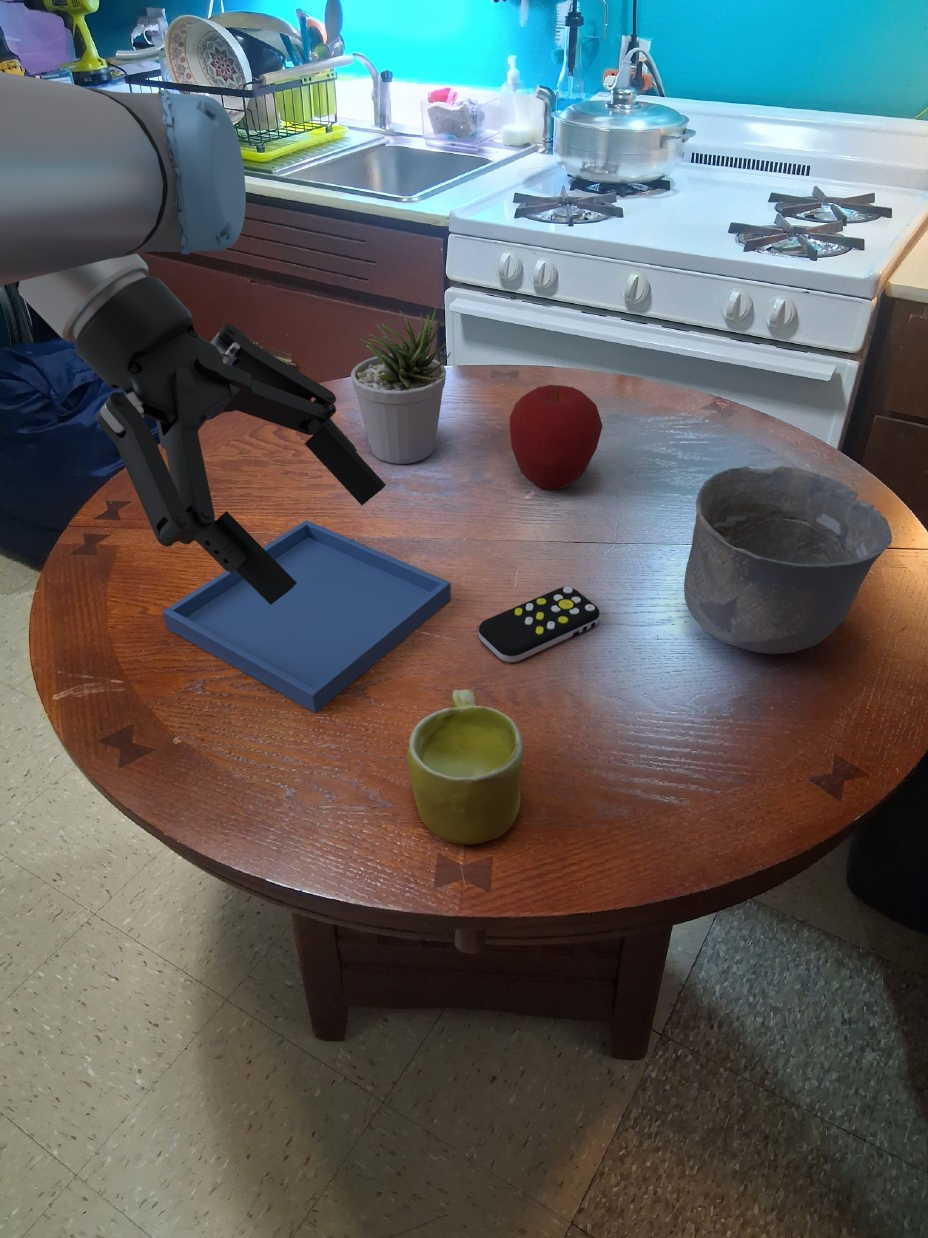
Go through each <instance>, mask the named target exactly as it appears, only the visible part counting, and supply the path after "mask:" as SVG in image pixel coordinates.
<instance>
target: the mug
mask: <svg viewBox="0 0 928 1238" xmlns="http://www.w3.org/2000/svg"><path fill="white" fill-rule="evenodd" d="M451 693H452V694H451V702H450V703H451V707H446V708H442V709H440V710H437V711H434V712H432V713H430V714H429V715H426V716H425V717H423V718H422V719H421V720H420V721H419V722H418V723H417V724H416V725H415V726H414V727H413V729H412V731H411V733H410V735H409V737H408V743H407V747H406V762H407V770H408V775H409V778H410V783H411V787H412V788H411V789H412V793H413V796H414V800H415V805H416V809H417V813H418V815H419V818H420V820H421V821H422V823H423V824H424V825H425V827H426V828H427V830H428V831H430V832H431V833H432V834H433V835H434V836H436V837H438V838H440V839H442V840H444V841H446V842H448V843H450V844H453V845H457V846H466V845H467V846H476V845H477V846H478V845H481V844H483V843H486V842H490V841H493V840H496V839H498V838H500V836H502V835H504V834H505V833H506V832H507V831H509V830H510V829H511V827H513V825H514V824H515V821H516V819H517V817H518V815H519V811H520V808H521V779H522V771H523V763H524V762H523V761H524V749H525V748H524V740H523V737H522V733H521V731H520V728H518V726H517V724H516V722H515V721H514V720H513V719H512V718H511V717H510V716H508V715H507V714H505V713H504V712H503V711H500V710H498V709H496V708H493V707H488V706H485V705H483V706H482V705H481V706H480V705H476V702H477V701H476V697H475V692H473V691H472V690H470V689H454V690H452V692H451Z"/></svg>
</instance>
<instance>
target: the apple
mask: <svg viewBox="0 0 928 1238" xmlns="http://www.w3.org/2000/svg"><path fill="white" fill-rule="evenodd" d="M602 430H603V422H602V419H601V416H600V412H599V410H598V406H597V404H596V403H595V402H594V401H593V400H592V399H591V398H589V397H588V396H587V395H586V394H585V393H584V392H583V391H582V390H580V389H577V388H575V387H573V386H567V385H561V384H547V385H543V386H538V387H536V388H534V389H531V390H530V391H529V392H527V393H526V394H524V395H522V396H521V397H520V398H519V399H518V401H516V403H515V404H514V406H513V409H512V410H511V413H510V415H509V433H510V445H511V450H512V453H513V456H514V458H515V461H516V463H517V466H518V468H519V471H520V473H521V474H522V475H523V477H524V478H525V479H526V480H527V481H529V482H530V483H532V485H534V486H535V487H537V488H538V489H540V490H545V491H555V490H559V489H563V488H564V487H566V486H568V485H570V484H573V483H574V482H576V481H577V480H579V479H580V478H581V477H582V476H583V475H584V474H585V472H586V470H587V468H588V466H589V465H590V462H591V460H592V458H593V457H594V455H595V452H596V450H597V449H598V444H599V441H600V438H601V433H602Z"/></svg>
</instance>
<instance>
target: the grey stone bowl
mask: <svg viewBox="0 0 928 1238" xmlns="http://www.w3.org/2000/svg"><path fill="white" fill-rule="evenodd" d="M858 494H859V492H857V491H855V490H852V489H850V487H849V486H848V485H846V484H844V483H842V482H840V481H838V480H836V479H833V478H830V477H827V476H823V475H820V474H818V473H816V472H813V471H809V470H804V469H798V468H796V467H790V466H783V465H782V466H775V467H771V468H770V467H769V468H756V467H755V468H752V467H749V466H747V465H745V466H741V467H732V468H728V469H725V470H723V471H719V472H717V473H715V474H714V475H711V477H709V478H708V479H706V480H705V481H704V483H703V484H702V485H701V488H700V489H699V491H698V493H697V496H696V499H695V512H696V515H695V524H694V527H693V534H692V539H691V541H692V542H691V547H690V551H689V555H688V560H687V562H686V567H685V573H684V583H683V595H684V601H685V605H686V607H687V609H688V611H689V613H690V616H691V617H692V618H693V619H694V620H695V622H696V623H697V624H698V625H699V627H700V628H701V629H702V630H703V631H704V632H705V633H707V634H709V635H711V636H712V637H714V638H716V639H717V640H719V641H721V642H722V643H725V644H727V645H731V646H733V647H736V648H739V649H742V650H746V651H751V652H755V653H759V654H768V655H779V654H780V655H781V654H792V653H795V652H799V651H803V650H805V649H809V648H811V647H814V646H816V645H818V644H819V643H821V642H823V640H825V639H826V638H827V637H828V636H830V635H831V634H832V633H833V632H834V631H835V630H836V628H838V626H839V625H840V624H841V623H842V622H843V621H844V619H846V616H847V614H848V613H849V611H850V609H851V607H852V605H853V603H854V602H855V600H856V598H857V596H858V593H859V591H860V588H861V585H862V584H863V583H864V581H865V579H866V577H867V576H868V574H869V572H870V570H871V569H872V566H873V565H874V564H875V562H877V561H876V560H877V559H878V558H879V557H880V556H881V555H882V554H883V553H884V552H886V550H887V549H888V548H889V547H890V545H891V543H892V539H893V536H892V529H891V527H890V524H889V522H888V520H887V518H886V517H885V516H883V515H882V512H881V511H880V510H878V509H876V508H875V505H874V504H871V503H869V502H868V501H866V500H864V499H859V500H857V498H858V497H857V496H858Z"/></svg>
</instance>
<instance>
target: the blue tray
mask: <svg viewBox="0 0 928 1238" xmlns="http://www.w3.org/2000/svg"><path fill="white" fill-rule="evenodd" d="M262 548H263V549H264V550H265V551H266V552H267V553H268V554H269V555H270V556H271V557H272V558H273V559H274V560H275V561H276V562H277V563H278V564H279V565H280V566H281V567H282V568H283V569H284V570H285V571H286V572H287V573H288V574H289V575H290V576H291V577H292V578H293V579H294V580H295V581H296V582H297V583H296V585H295V586H294V587H293V588H292V589H291V590H290V591H288V592H287V593H286V594H284V595H283V596H282V597H281V598H279V599H278V600H277V601H275V602H274V603H273V604H271V605H270V604H269V603H268V602H267V601H266V600H265V599H264V598H263V597H262V596H261V595H260V594H259V593H258V592H257V591H256V590H255V589H254V588H253V587H252V586H251V585H250V584H249V583H248V582H247V581H246V580H245V579H244V578H243V577H242V576H241V575H240V574H239V573H238V572H237V571H236V570H235V571H234V572H232V573H231V572H229V571H227V570H225V571H223V572H222V573H220V574H219V575H217V576H215V577H214V578H213V579H211V580H209V581H208V582H206V583H204V584H203V585H202V586H199V587H198V588H197V589H195V590H193V591H192V592H190V593H189V594H187V595H186V596H183V597H182V598H181V599H179V600H178V601H176V602H175V603H172V604H171V605H170V606H168V607H167V608H165V609H163V610H162V611H161V612H162V616H163V620H164V623H165V626H166V629H167V630H168V631H170V632H172V633H173V634H175V635H178V636H179V637H180V638H183V639H185V640H186V641H188V642H190V644H193V645H194V646H196V647H198V648H200V649H202V650H204V651H205V652H207V653H209V654H210V655H212V656H214V657H216V658H217V659H220V660H221V661H223V662H224V663H226V664H228V665H229V666H232V667H233V668H235V669H237V670H239V671H240V672H242V673H244V674H246V675H247V676H249V677H251V678H252V679H254V680H256V681H258V682H259V683H262V684H263V685H265V686H267V687H268V688H270V689H272V690H274V691H276V692H277V693H278V694H281V695H282V696H284V697H286V698H288V699H289V700H291V701H293V702H295V703H296V704H298V705H300V706H302V707H304V708H305V709H307V710H309V711H310V712H312V713H314V714H317V713H318V712H320V711H321V710H322V709H323V708H324V707H325V706H326V705H328V704H329V703H330V702H331V701H332V700H333V699H335V698H336V697H337V696H338V695H340V694H341V693H342V692H344V690H346V689H347V688H348V687H349V686H350V685H352V684H353V683H354V682H355V681H357V679H359V678H360V677H361V676H362V675H363V674H364V673H366V672H367V671H368V670H370V668H372V667H373V666H374V665H375V664H376V663H377V662H379V661H380V660H382V658H383V657H385V656H386V655H387V654H388V653H389V652H391V651H392V650H393V649H394V648H395V647H396V646H398V645H399V644H400V643H401V642H403V641H404V640H405V639H406V638H407V637H408V636H409V635H411V634H412V633H413V632H414V631H416V630H417V629H418V628H419V627H421V625H422V624H425V622H426V621H427V620H429V619H430V618H431V617H432V616H433V615H434V614H436V613H437V612H438V611H439V610H440V609H441V608H443V607H444V606H445V605H446V604H447V603H449V602H450V601H451V600H452V590H451V589H452V587H451V586H452V585H451V582H450V581H448V580H445V578H444V579H443V578H442V577H439V576H437V575H434V574H432V573H430V572H427V571H425V570H423V569H421V568H418V567H416V566H414V565H411V564H409V563H406V562H405V561H402V560H400V559H398V558H396V557H393V556H390V555H388V554H386V553H383V552H381V551H379V550H376V549H375V548H372V547H370V546H368V545H366V544H363V543H361V542H358V541H356V540H353V539H352V538H349V537H348V536H345V535H342V534H340V533H338V532H336V531H333V530H331V529H329V528H326V527H324V526H322V525H319V524H316V523H314V522H313V521H311V520H307V519H305V520H304V521H302V522H300V523H299V524H297V525H296V526H294V527H293V528H291V529H290V530H288V531H286V532H285V533H283V534H281V535H280V536H278V537H277V538H276V539H274V540H272V541H270V542H269V543H267V544H266V545H264V546H262Z"/></svg>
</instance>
